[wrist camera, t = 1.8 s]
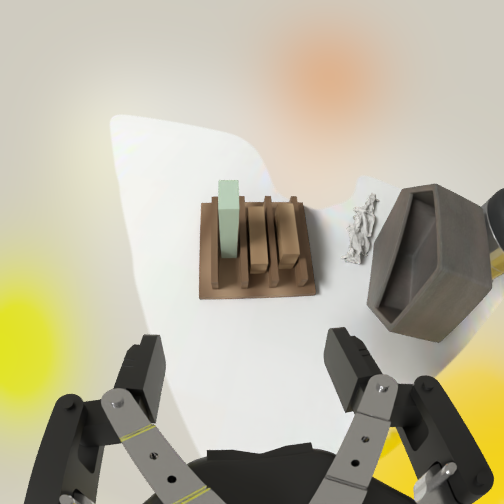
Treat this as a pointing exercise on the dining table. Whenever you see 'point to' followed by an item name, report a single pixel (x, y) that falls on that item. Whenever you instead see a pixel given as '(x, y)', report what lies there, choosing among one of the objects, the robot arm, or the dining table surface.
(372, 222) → the white statue
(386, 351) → the dining table surface
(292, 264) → the offcut
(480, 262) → the planter
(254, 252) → the offcut
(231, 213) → the pale green block
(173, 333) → the dining table surface
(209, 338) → the dining table surface
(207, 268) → the rack
